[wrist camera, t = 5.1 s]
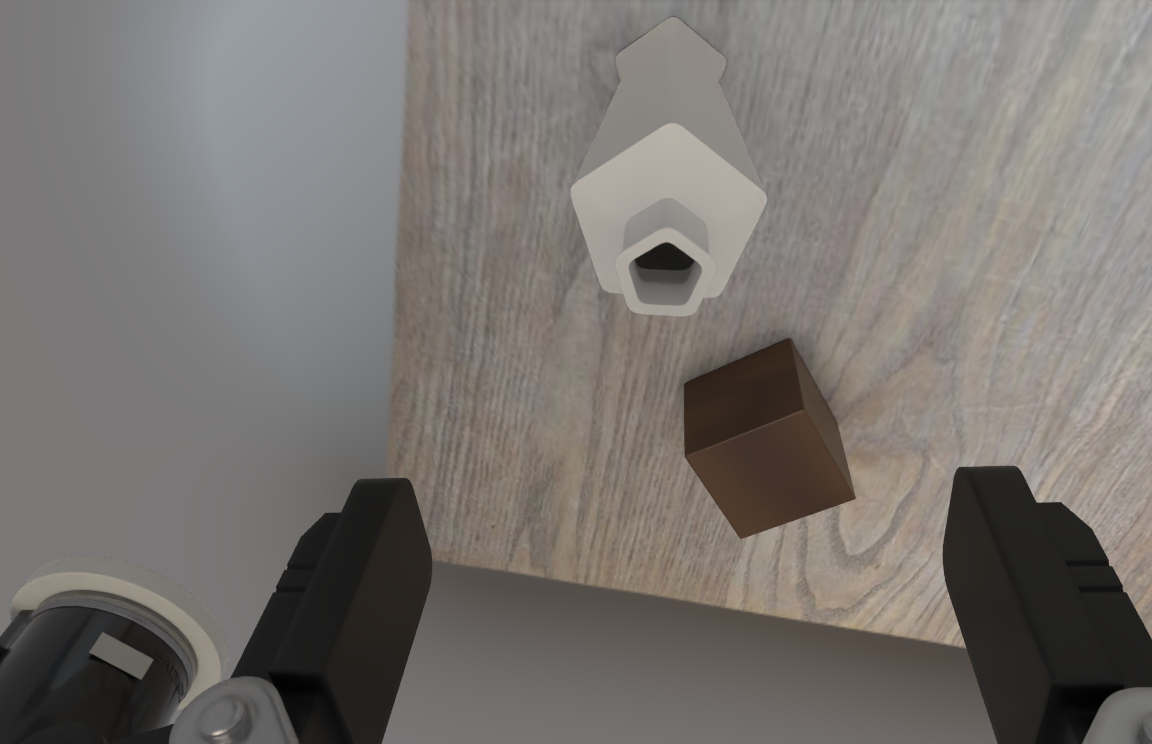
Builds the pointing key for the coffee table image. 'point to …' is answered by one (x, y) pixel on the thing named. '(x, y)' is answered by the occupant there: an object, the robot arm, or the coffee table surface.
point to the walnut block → (765, 441)
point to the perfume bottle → (667, 178)
